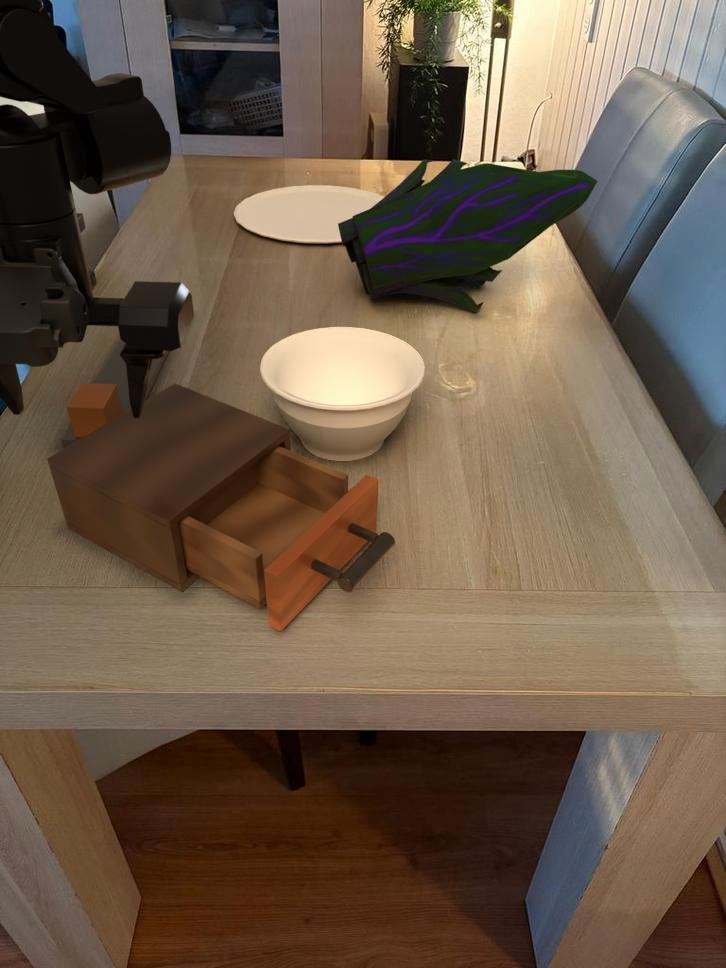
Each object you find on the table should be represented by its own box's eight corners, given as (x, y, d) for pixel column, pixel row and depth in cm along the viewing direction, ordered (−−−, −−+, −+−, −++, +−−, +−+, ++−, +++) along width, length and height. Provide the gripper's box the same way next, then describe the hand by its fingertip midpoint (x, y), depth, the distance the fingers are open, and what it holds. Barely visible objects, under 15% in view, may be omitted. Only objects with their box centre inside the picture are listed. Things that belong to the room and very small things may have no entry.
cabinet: (293, 497, 69) (290, 429, 64) (182, 592, 59) (168, 520, 55) (184, 448, 75) (174, 382, 70) (67, 528, 65) (46, 458, 60)
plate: (417, 244, 120) (418, 237, 119) (235, 251, 116) (235, 243, 115) (386, 189, 143) (386, 182, 142) (232, 193, 139) (232, 186, 138)
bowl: (451, 442, 77) (459, 369, 71) (332, 505, 68) (332, 428, 63) (350, 381, 86) (351, 312, 81) (234, 430, 77) (227, 357, 72)
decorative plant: (366, 337, 114) (554, 278, 114) (380, 352, 89) (620, 277, 89) (326, 199, 109) (522, 137, 108) (328, 175, 84) (584, 94, 83)
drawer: (415, 549, 62) (420, 496, 59) (323, 655, 54) (322, 600, 50) (263, 481, 69) (259, 429, 66) (158, 565, 60) (147, 510, 57)
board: (123, 449, 74) (121, 441, 74) (63, 447, 74) (61, 439, 74) (185, 316, 98) (184, 309, 97) (140, 315, 98) (138, 308, 97)
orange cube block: (110, 438, 74) (103, 408, 72) (74, 437, 74) (66, 407, 72) (123, 413, 78) (116, 383, 75) (88, 412, 78) (81, 382, 75)
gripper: (-189, 251, 42) (-93, 473, 51) (143, 261, 42) (177, 479, 52) (-92, 192, 51) (-26, 390, 60) (182, 200, 51) (205, 396, 60)
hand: (78, 413), depth 58 cm, fingers open, 9 cm apart
